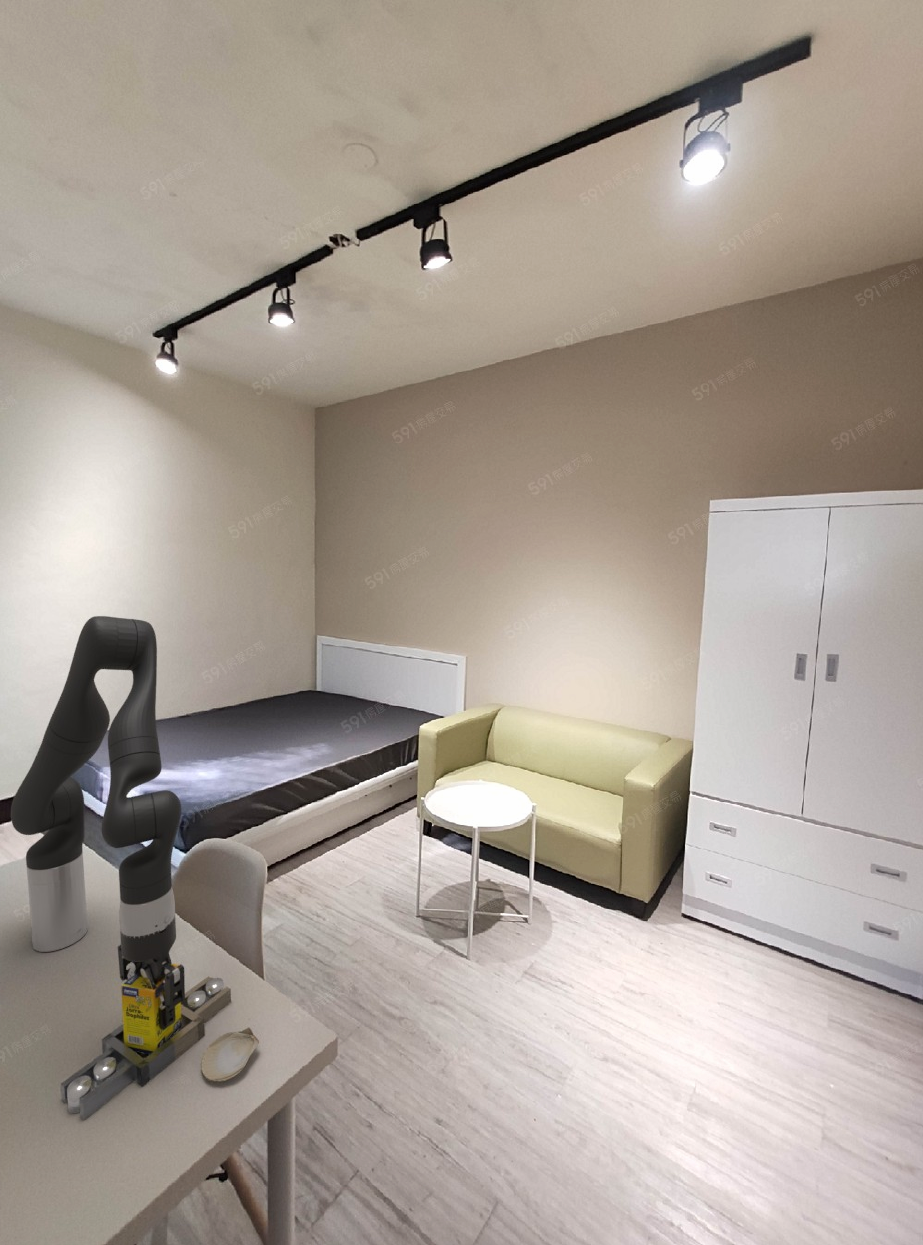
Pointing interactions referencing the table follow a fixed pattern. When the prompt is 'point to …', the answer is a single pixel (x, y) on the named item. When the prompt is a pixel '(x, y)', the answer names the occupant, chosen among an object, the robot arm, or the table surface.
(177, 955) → the table surface
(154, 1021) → the supplement box
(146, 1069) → the frame
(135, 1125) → the table surface
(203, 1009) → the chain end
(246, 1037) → the seashell
